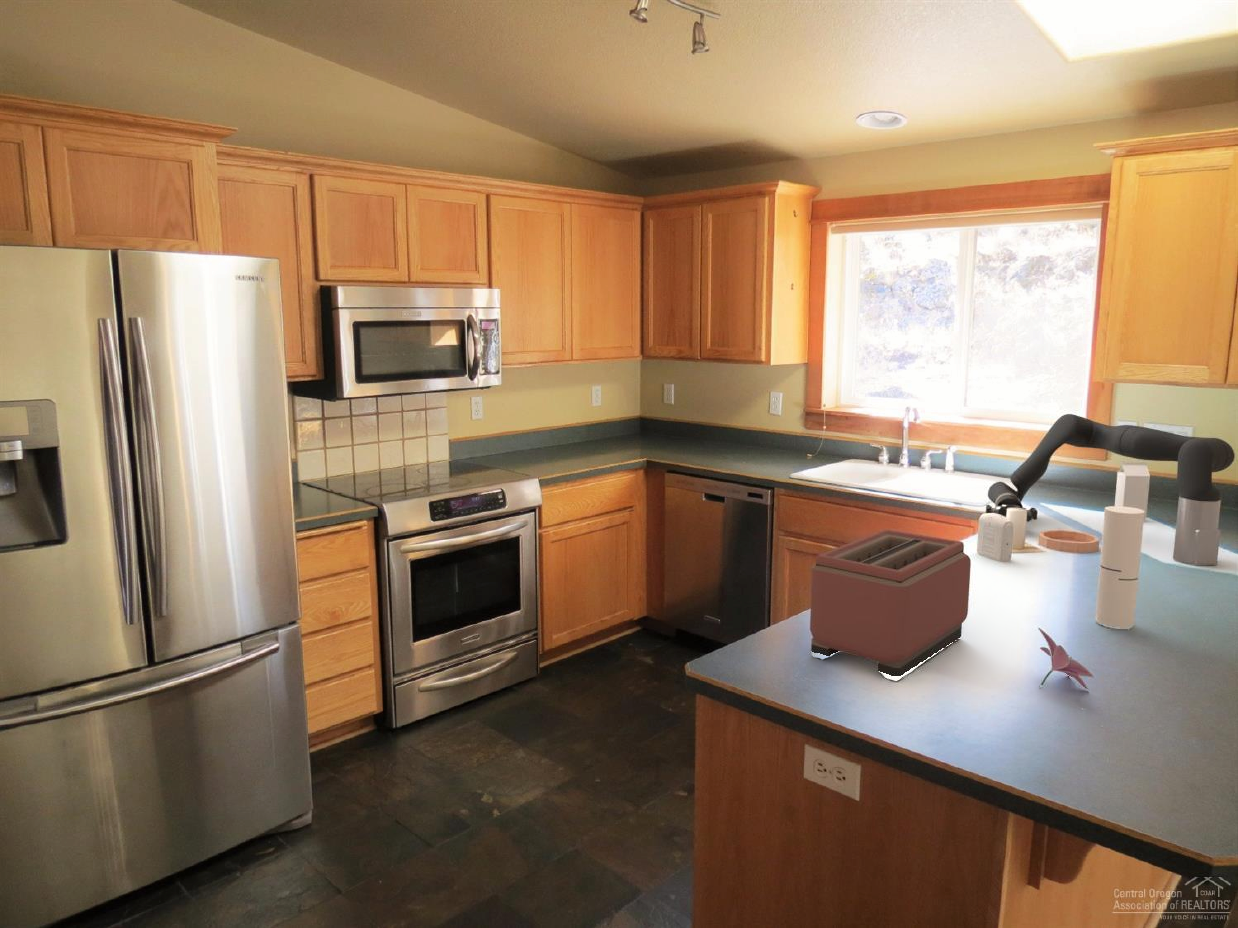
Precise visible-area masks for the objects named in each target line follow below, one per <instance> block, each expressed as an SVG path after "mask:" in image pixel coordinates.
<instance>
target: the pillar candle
mask: <svg viewBox="0 0 1238 928" xmlns="http://www.w3.org/2000/svg"><path fill="white" fill-rule="evenodd" d="M1023 508H1024V507H1023ZM1023 508H1007V515H1006V518H1007V519H1009V520H1010V521H1011V522H1012V523H1013V527H1014V528H1013V541H1012V549H1024V548H1025V542H1026V531H1027V521H1026V519H1027V510H1028V509H1027V508H1026V509H1023Z"/></svg>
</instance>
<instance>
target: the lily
mask: <svg viewBox="0 0 1238 928" xmlns="http://www.w3.org/2000/svg"><path fill="white" fill-rule="evenodd" d="M1037 628H1038V631H1040V633H1041V635H1042V636H1043V638H1044V639H1045V641H1046V643H1047V646H1048V647H1049V648H1048V647H1044V646H1042V647H1040V648H1039V649H1040V650H1041V651H1042V652H1043V653H1045V654H1046V655H1048V656H1049V657H1050V658H1051V669H1050V670H1049V672H1047V674H1046V675H1045V677H1044V678H1043V680H1042V682H1041V683H1040V685H1043V686H1044V683H1045V682H1046V680H1047V679H1048V677H1049V676H1050V675H1051V674H1052V673H1053V672H1054V671H1055V672H1059V673H1064V674H1065V673H1066V674H1067V675H1069V676H1071V677H1072V678H1074V679H1075V680H1076V682H1078V683H1079V684H1080V685H1081V686H1082V688H1084V687H1085V688H1086V689H1088V690H1089V688H1088V686H1087V685H1086V684H1085V682H1084V680H1083V679H1082V678H1081V677H1088V678H1095V677H1094V675H1093V674H1092V673H1091V672H1090V671H1089V670H1088V669H1087V668H1086V667H1085V666H1084V665H1082V664H1081V663H1080V662H1078V661H1077V660H1075V659H1074V658H1072V656H1070V655H1069V654H1068V652H1067V651H1066V650H1065V648H1064V647H1063V646H1062V645H1061V644H1059V645H1057V643H1056V642H1055V641H1054V639H1052V637H1050V636H1049V635H1048V634H1047V633H1046V632H1045V631H1044V630H1043V629H1041V628H1040V627H1037ZM1069 656H1070V657H1069ZM1066 674H1065V675H1066ZM1085 688H1084V689H1085ZM1086 689H1085V690H1086Z"/></svg>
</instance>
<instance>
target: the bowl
mask: <svg viewBox="0 0 1238 928" xmlns="http://www.w3.org/2000/svg"><path fill="white" fill-rule="evenodd" d="M1037 543H1038V545H1039V546H1040V547H1043V548H1045V549H1049V550H1053V551H1058V552H1063V553H1064V552H1065V553H1074V554H1075V553H1076V554H1078V553H1079V554H1083V553H1094V552H1096V551H1097V552H1099V551H1098V550H1099V548H1100V538H1099V537H1098V536H1096V535H1094V534H1092V533H1087V532H1083V531H1082V532H1081V531H1077V530H1065V529H1046V530H1042V531H1039V532H1038V541H1037Z"/></svg>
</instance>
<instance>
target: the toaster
mask: <svg viewBox="0 0 1238 928" xmlns="http://www.w3.org/2000/svg"><path fill="white" fill-rule="evenodd" d="M964 548H965V544H964V542H963V541H959V540H952V539H948V538H942V537H935V536H930V535H923V534H918V533H912V532H906V531H900V530H894V529H888V528H884V529H882V530H879V531H876V532H873V533H872V534H869V535H866V536H864V537H861V538H859V539H856V540H854V541H852V542H851V541H850V542H848V543H846V544H843V545H841V546H839V547H836V548H833V549H830V550H828V551H826V552H822V553H820V554H818V555H816V558H815V564H813V565H812V566H811V578H810V579H811V580H810V583H811V584H810V590H811V591H810V614H809V615H810V617H809V619H810V620H809V631H810V633H811V636H812V638H811V645H810V646H811V647H810V648H811V649H810V651H812V652H814V653H820V654H823V655H826V656H830V655H831V654H833V653H836V652H838V651H840V652H843V653H846V654H850V655H852V656H856V657H860V658H863V659H867V660H871V661H873V662H874V661H875V662H877V672H878V671H880V672H883V673H886V674H889V675H891V676H901V675H903V674H904V673H905V672H907V671H909V670H910V669H911V668H913V667H915V666H917V665H918V664H919V663H920V662H923V661H924V660H926V659H927V658H928V657H931V656H932V655H933V654H934V653H937V652H938V651H939V650H941V649H942V648H945V647H946V646H947V645H949V644H950V643H952V642H954V641H955V640H957V639H958V638H960V637H961V638H962V630H963V628H962V627H963V623H964V622H965V621H966V620H967V617H968V614H969V599H970V584H971V582H970V581H971V566H972V565H971V563H972V562H971V558H970V556H969V555H968V554H966V553H965V552H964ZM961 638H960V639H961ZM957 641H958V640H957ZM954 643H955V642H954Z"/></svg>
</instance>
